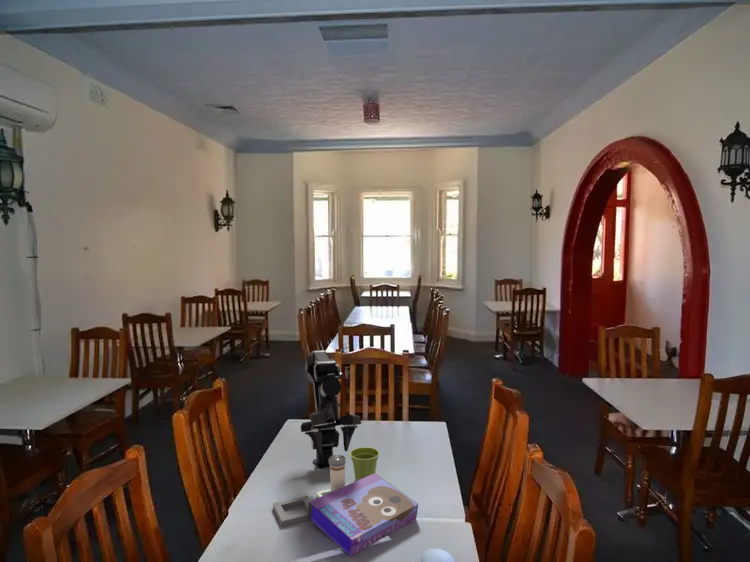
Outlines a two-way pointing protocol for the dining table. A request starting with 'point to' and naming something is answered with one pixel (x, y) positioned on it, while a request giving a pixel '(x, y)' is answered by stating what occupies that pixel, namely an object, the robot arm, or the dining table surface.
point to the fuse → (337, 472)
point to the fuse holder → (292, 510)
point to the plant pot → (364, 461)
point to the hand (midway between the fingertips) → (332, 453)
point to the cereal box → (362, 513)
